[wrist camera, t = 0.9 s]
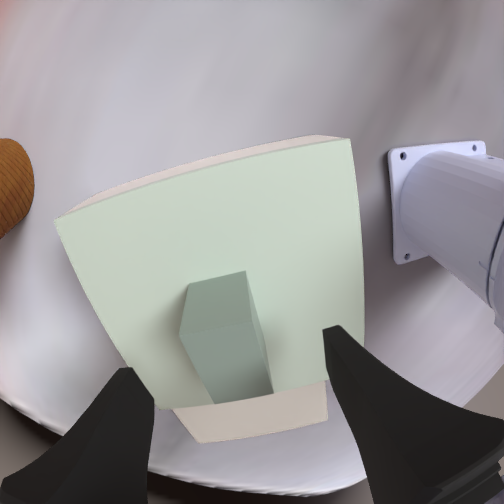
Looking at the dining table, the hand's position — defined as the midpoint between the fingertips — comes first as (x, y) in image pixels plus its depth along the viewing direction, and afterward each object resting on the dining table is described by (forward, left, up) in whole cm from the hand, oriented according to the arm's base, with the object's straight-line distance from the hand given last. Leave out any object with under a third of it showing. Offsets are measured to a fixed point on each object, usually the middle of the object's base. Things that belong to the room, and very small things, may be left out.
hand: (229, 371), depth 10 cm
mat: (+2, +15, -9) cm, 18 cm away
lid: (0, 0, -4) cm, 4 cm away
